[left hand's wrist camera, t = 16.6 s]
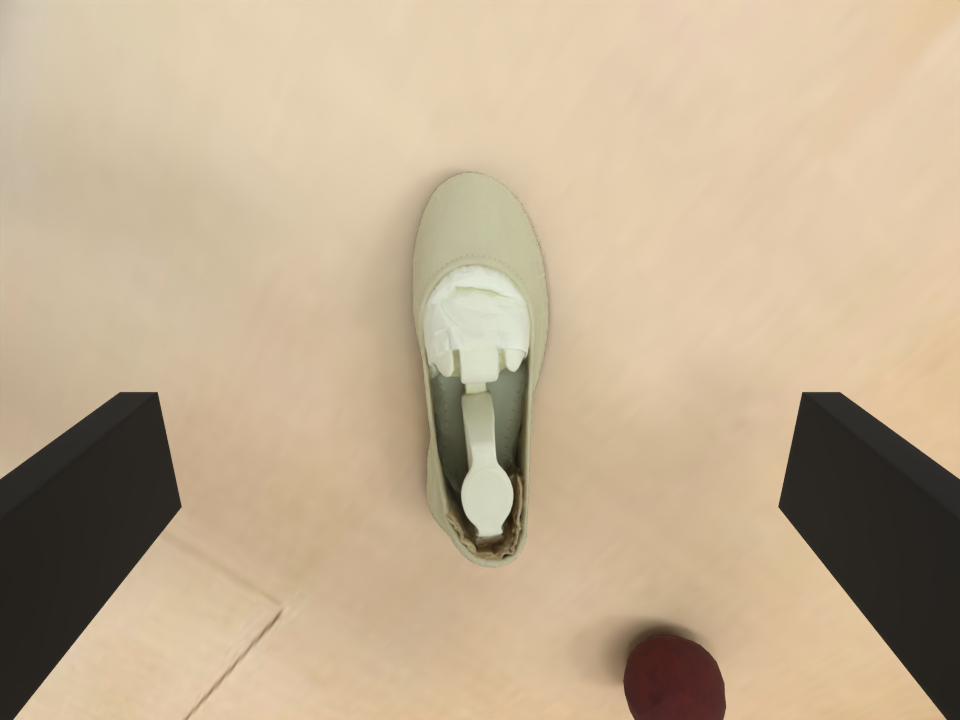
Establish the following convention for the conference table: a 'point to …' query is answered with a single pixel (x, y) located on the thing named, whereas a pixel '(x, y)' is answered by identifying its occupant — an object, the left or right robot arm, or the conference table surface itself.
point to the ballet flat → (479, 360)
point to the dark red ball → (673, 681)
